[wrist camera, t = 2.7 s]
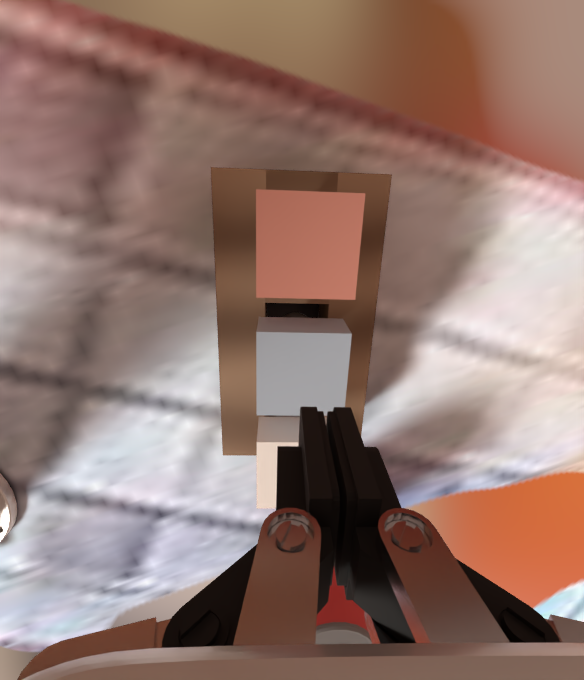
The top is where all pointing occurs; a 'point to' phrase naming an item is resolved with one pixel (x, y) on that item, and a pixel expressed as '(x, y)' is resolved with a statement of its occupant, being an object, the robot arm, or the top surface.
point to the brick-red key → (308, 244)
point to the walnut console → (245, 309)
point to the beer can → (341, 620)
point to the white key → (272, 453)
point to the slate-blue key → (301, 364)
